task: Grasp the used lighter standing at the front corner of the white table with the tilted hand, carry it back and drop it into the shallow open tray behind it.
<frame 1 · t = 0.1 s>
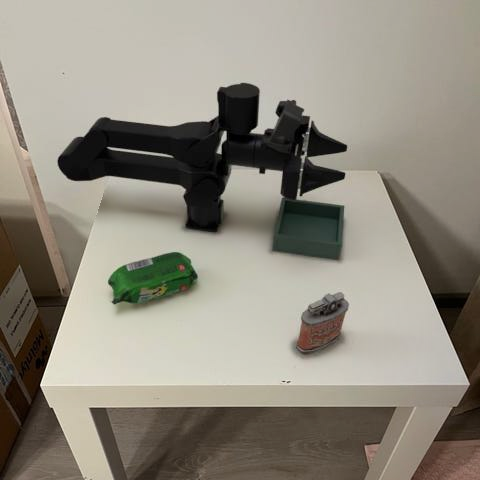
hand: (346, 161, 83), 17 cm above the table, tool horizontal, fingers open, 9 cm apart
snack package: (155, 290, 85), on the table
shallow open tray: (307, 234, 96), on the table
lighter: (318, 342, 78), on the table
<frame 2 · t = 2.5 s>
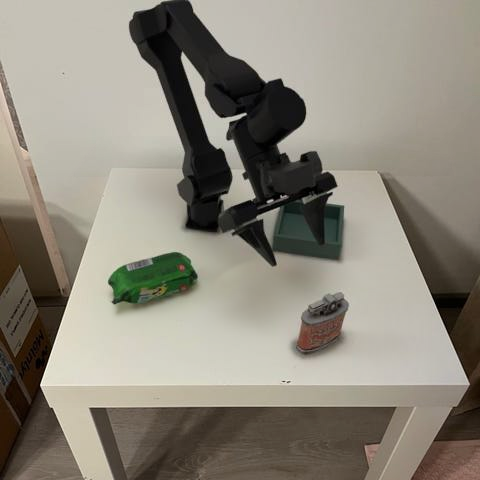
hand: (299, 255, 74), 12 cm above the table, tool tilted 45°, fingers open, 9 cm apart
nothing on the table moved.
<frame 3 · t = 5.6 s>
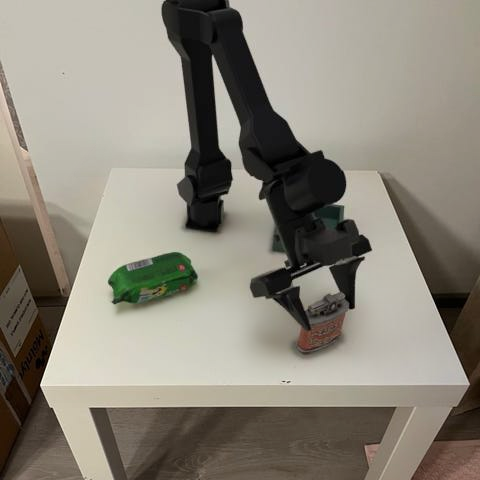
hand: (330, 319, 72), 7 cm above the table, tool tilted 45°, fingers closed on lighter, 8 cm apart
lighter: (318, 342, 78), on the table, touching gripper
everything else where it was.
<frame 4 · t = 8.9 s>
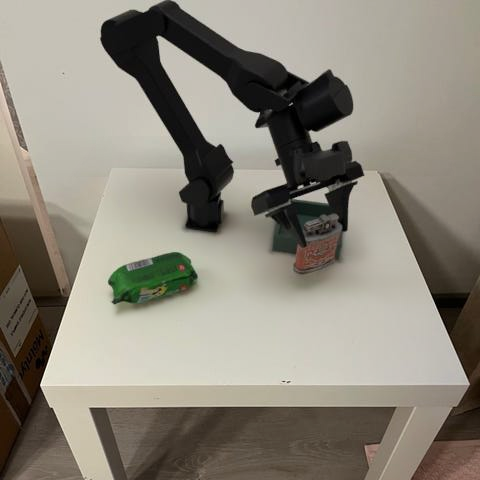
hand: (325, 239, 78), 11 cm above the table, tool tilted 45°, fingers closed on lighter, 8 cm apart
lighter: (313, 265, 84), point 4 cm above the table, touching gripper
everything else where it was.
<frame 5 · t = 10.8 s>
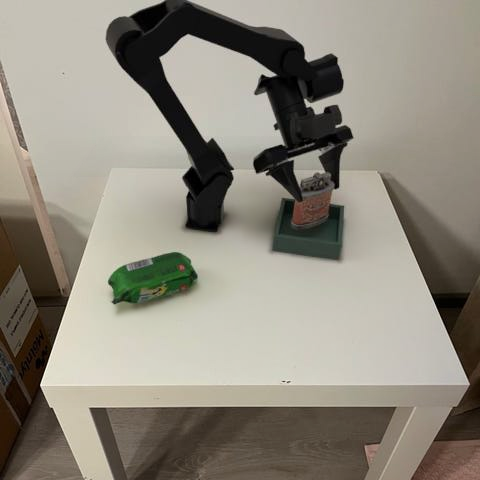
hand: (319, 195, 88), 10 cm above the table, tool tilted 45°, fingers closed on lighter, 8 cm apart
lighter: (309, 222, 94), point 3 cm above the table, touching gripper
everything else where it was.
when the fingers open (7 cm above the table, at t = 12.4 s): lighter stays where it is, resting on shallow open tray.
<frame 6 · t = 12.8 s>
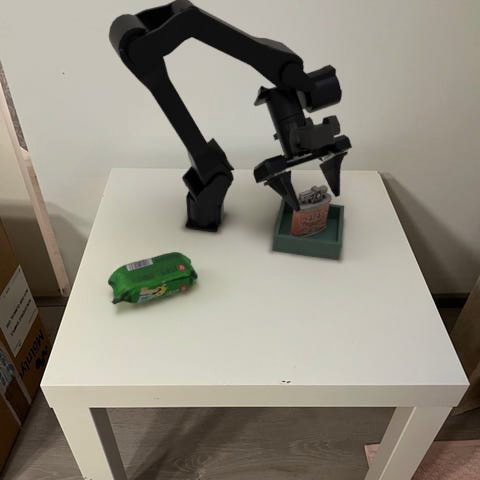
hand: (318, 203, 89), 8 cm above the table, tool tilted 45°, fingers open, 9 cm apart
lighter: (307, 233, 96), resting on shallow open tray
everything else where it was.
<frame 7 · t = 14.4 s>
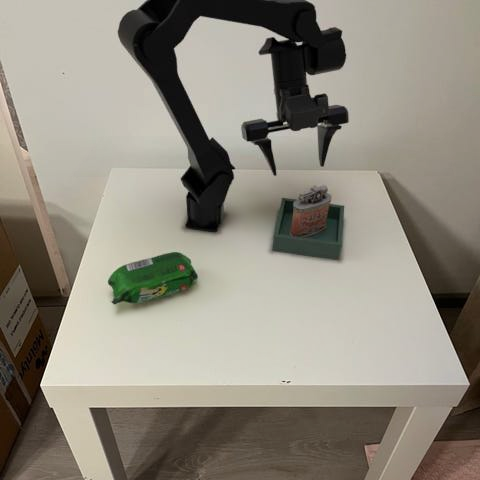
hand: (298, 170, 92), 11 cm above the table, tool tilted 20°, fingers open, 9 cm apart
nothing on the table moved.
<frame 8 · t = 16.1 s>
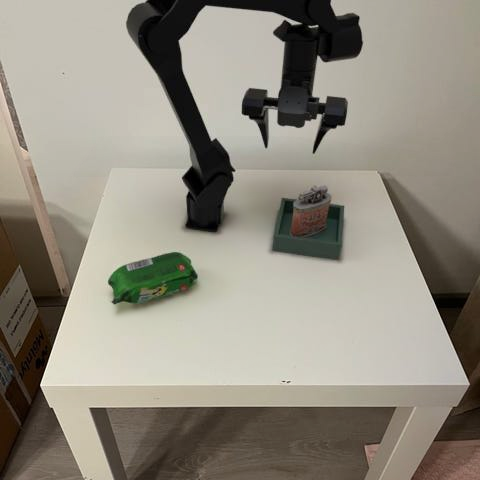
hand: (289, 150, 94), 12 cm above the table, tool pointing down, fingers open, 9 cm apart
nothing on the table moved.
at the end: lighter inside the target area in the shallow open tray (0.2 cm from its centre), point 0.4 cm above the shallow open tray's base; the gripper is holding nothing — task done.
